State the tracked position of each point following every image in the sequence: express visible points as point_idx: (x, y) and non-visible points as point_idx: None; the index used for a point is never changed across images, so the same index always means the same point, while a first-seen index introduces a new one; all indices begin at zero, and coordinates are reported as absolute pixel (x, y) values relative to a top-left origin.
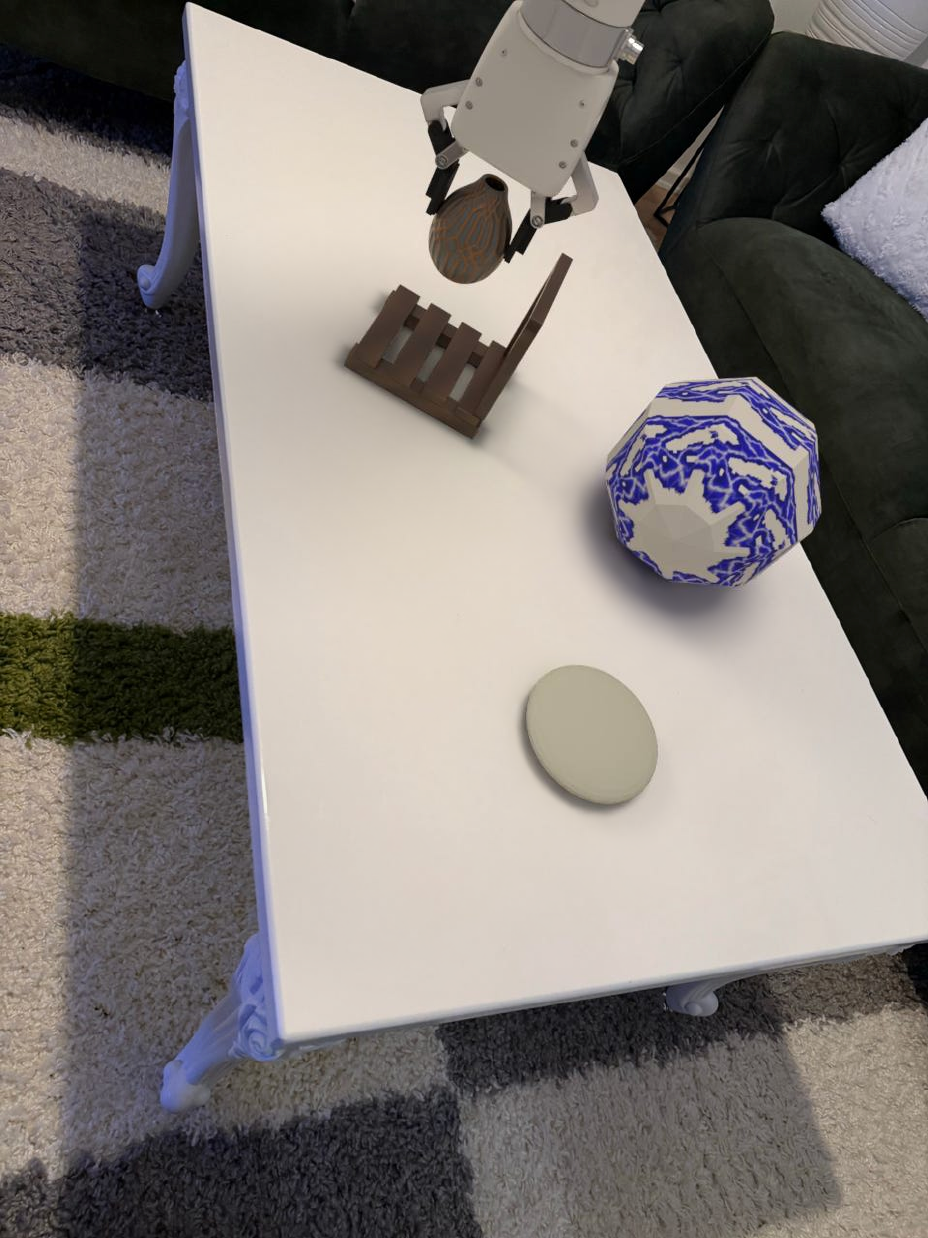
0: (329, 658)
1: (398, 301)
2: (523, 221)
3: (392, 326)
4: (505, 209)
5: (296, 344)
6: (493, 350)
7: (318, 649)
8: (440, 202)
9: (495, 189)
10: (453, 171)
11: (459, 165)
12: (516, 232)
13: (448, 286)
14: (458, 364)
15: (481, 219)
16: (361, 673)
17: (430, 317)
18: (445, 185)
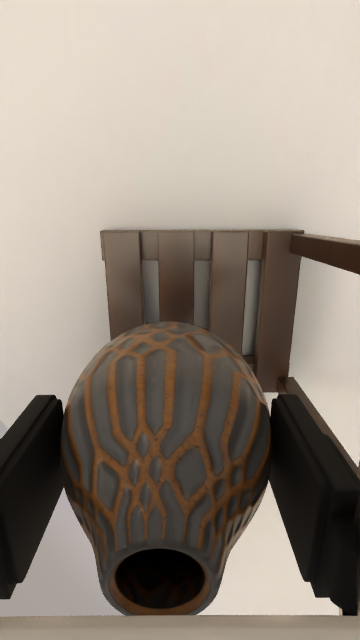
0: (234, 612)
1: (118, 272)
2: (311, 579)
3: (133, 325)
4: (235, 541)
5: (61, 386)
6: (274, 254)
7: (225, 610)
8: (58, 469)
9: (166, 453)
10: (10, 552)
11: (4, 486)
12: (292, 546)
13: (163, 108)
14: (235, 323)
15: (180, 562)
16: (258, 611)
17: (169, 265)
18: (31, 554)
